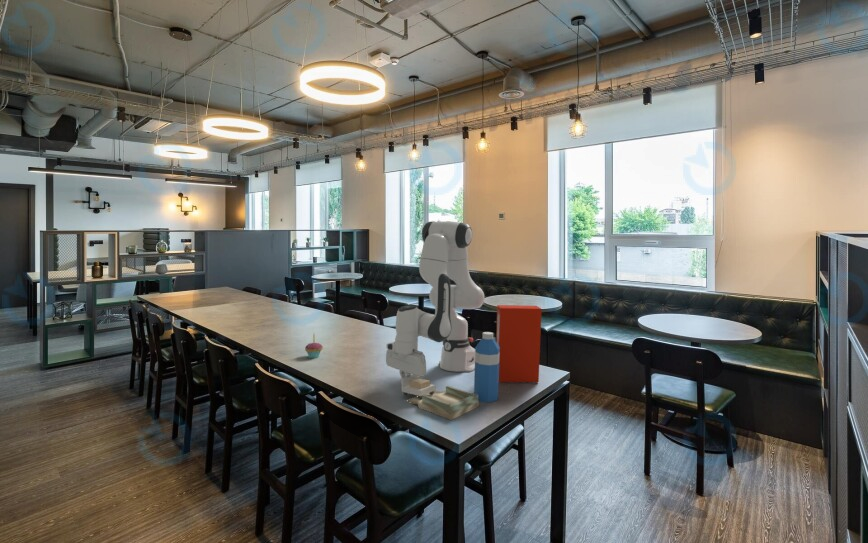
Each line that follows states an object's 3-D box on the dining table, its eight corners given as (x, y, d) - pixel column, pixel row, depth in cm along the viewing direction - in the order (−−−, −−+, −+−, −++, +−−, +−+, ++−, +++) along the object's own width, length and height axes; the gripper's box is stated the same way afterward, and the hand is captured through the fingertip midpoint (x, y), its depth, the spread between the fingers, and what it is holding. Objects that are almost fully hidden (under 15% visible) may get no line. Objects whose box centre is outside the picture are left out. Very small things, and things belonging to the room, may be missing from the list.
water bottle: (496, 393, 163) (497, 330, 161) (500, 402, 153) (502, 336, 152) (472, 392, 162) (474, 330, 160) (475, 402, 153) (477, 335, 151)
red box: (538, 383, 175) (541, 308, 172) (498, 382, 174) (500, 307, 172) (533, 377, 183) (536, 305, 180) (494, 376, 183) (497, 304, 180)
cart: (416, 390, 163) (415, 373, 163) (435, 394, 156) (434, 377, 156) (401, 395, 157) (400, 378, 157) (420, 400, 150) (419, 382, 150)
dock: (431, 392, 164) (431, 379, 164) (478, 409, 149) (479, 394, 149) (402, 404, 152) (402, 389, 152) (450, 423, 137) (451, 407, 137)
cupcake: (305, 355, 210) (305, 332, 209) (322, 354, 213) (322, 331, 212) (305, 359, 202) (305, 335, 201) (323, 358, 205) (323, 334, 204)
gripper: (430, 351, 156) (429, 387, 156) (395, 341, 170) (394, 374, 171) (418, 353, 151) (417, 391, 152) (383, 343, 165) (382, 377, 166)
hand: (405, 382), depth 161 cm, fingers closed
